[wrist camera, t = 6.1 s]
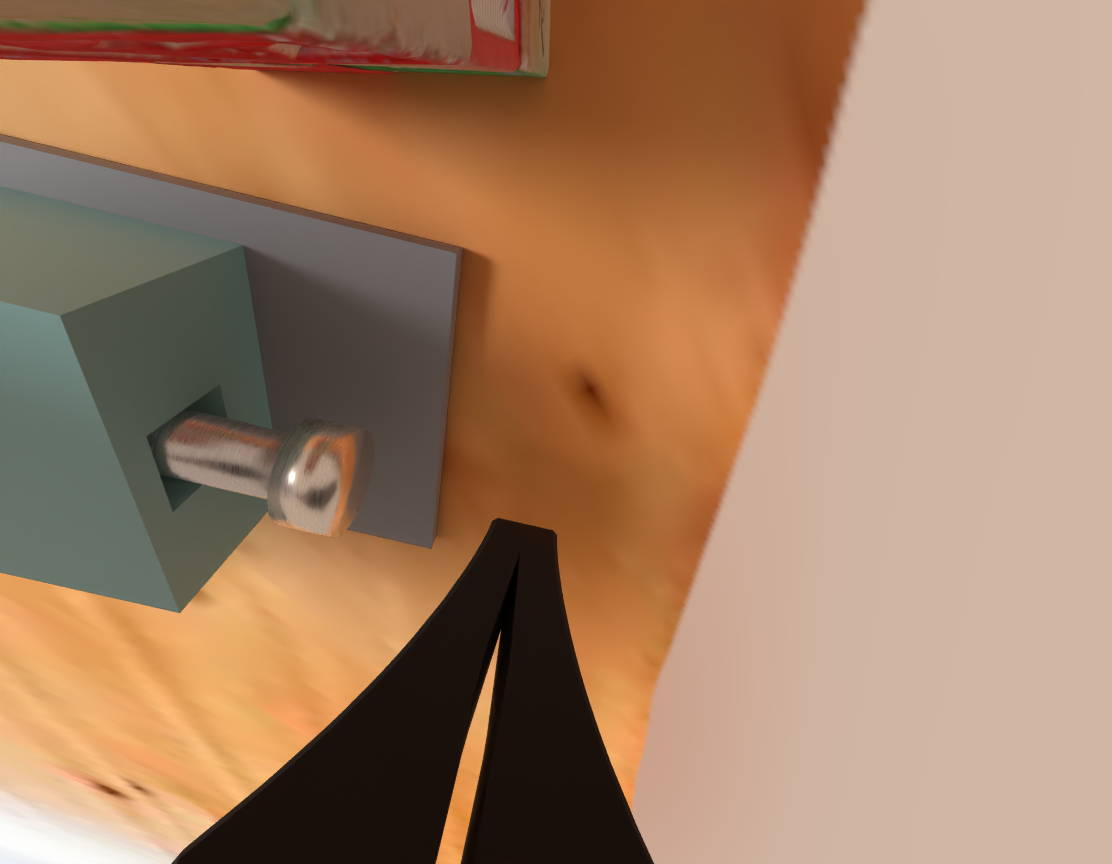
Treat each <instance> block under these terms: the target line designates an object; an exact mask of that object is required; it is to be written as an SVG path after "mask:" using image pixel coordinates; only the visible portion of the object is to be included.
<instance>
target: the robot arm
mask: <svg viewBox="0 0 1112 864" xmlns="http://www.w3.org/2000/svg"><path fill="white" fill-rule="evenodd" d="M500 631H501V634H500ZM499 634H500V641H499V649H498V656H497V664H496V671H495V679H494V686H493V694H492V701H491V709H490V716H489V724H488V731H487V738H486V744H485V750H484V756H483V762H482V766H481V771H480V776H479V780H478V785H477V790H476V795H475V799H474V804H473V809H472V813H471V818H470V823H469V827H468V832H467V837H466V841H465V846H464V851H463V855H462V860H461V864H654V863H653V860H652V858H651V856H650V854H649V852H648V850H647V847H646V845H645V843H644V841H643V838H642V836H641V834H640V832H639V830H638V828H637V825H636V823H635V820H634V818H633V815H632V813H631V811H630V808H629V806H628V803H627V801H626V798H625V796H624V794H623V791H622V789H621V786H620V784H619V782H618V779H617V777H616V774H615V772H614V769H613V767H612V765H611V762H610V759H609V757H608V754H607V751H606V748H605V746H604V743H603V740H602V737H601V735H600V732H599V729H598V726H597V723H596V720H595V717H594V714H593V711H592V708H591V705H590V702H589V699H588V696H587V693H586V689H585V686H584V683H583V679H582V676H581V672H580V669H579V665H578V661H577V657H576V654H575V650H574V646H573V642H572V638H571V634H570V629H569V624H568V619H567V615H566V610H565V605H564V600H563V594H562V588H561V581H560V574H559V565H558V554H557V535H556V533H555V532H554V531H553V530H549V529H544V528H540V527H536V526H531V525H527V524H522V523H518V522H514V521H509V520H505V519H500V518H497V519H495V520H493V521H492V523H491V525H490V528H489V530H488V532H487V534H486V536H485V538H484V540H483V541H482V543H481V545H480V547H479V548H478V550H477V552H476V553H475V555H474V556H473V558H472V560H471V561H470V563H469V564H468V566H467V567H466V569H465V570H464V572H463V573H462V575H461V576H460V577H459V579H458V580H457V582H456V583H455V584H454V586H453V587H452V589H451V590H450V591H449V593H448V594H447V596H446V597H445V598H444V600H443V601H442V602H441V603H440V605H439V606H438V607H437V608H436V610H435V611H434V612H433V613H432V615H431V616H430V617H429V618H428V620H427V621H426V622H425V623H424V624H423V626H422V627H421V628H420V629H419V631H418V632H417V633H416V634H415V635H414V637H413V638H412V639H411V640H410V641H409V642H408V644H407V645H406V646H405V647H404V648H403V649H402V650H401V651H400V653H399V654H398V655H397V656H396V657H395V658H394V659H393V660H392V661H391V662H390V664H389V665H388V666H387V667H386V668H385V669H384V670H383V671H382V672H381V673H380V674H379V675H378V676H377V677H376V679H375V680H374V681H373V682H372V683H371V684H370V685H369V686H368V687H367V688H366V689H365V690H364V691H363V692H362V693H361V694H360V695H359V696H358V697H357V698H356V699H355V700H354V701H353V702H352V703H351V704H350V705H349V706H348V707H347V708H346V709H345V710H344V711H343V712H342V713H341V714H340V715H339V716H338V717H336V718H335V719H334V720H333V721H332V722H331V723H330V724H329V725H328V726H327V727H326V728H325V729H324V730H323V731H322V732H321V733H319V734H318V735H317V736H316V737H315V738H314V739H313V740H312V741H311V742H309V743H308V744H307V745H306V746H305V747H304V748H303V749H302V750H301V751H299V752H298V753H297V754H296V755H295V756H294V757H293V758H292V759H291V760H289V761H288V762H287V763H286V764H285V765H284V766H283V767H282V768H281V769H279V770H278V771H277V772H276V773H275V774H274V775H273V776H272V777H270V778H269V779H268V780H267V781H266V782H265V783H263V784H262V785H261V786H260V787H259V788H258V789H256V790H255V791H254V792H253V793H252V794H250V795H249V796H248V797H247V798H245V799H244V800H243V801H242V802H241V803H239V804H238V805H237V806H236V807H234V808H233V809H232V810H231V811H230V812H228V813H227V814H226V815H225V816H224V817H222V818H221V819H220V820H219V821H217V822H216V823H215V824H214V825H213V826H211V827H210V828H209V829H208V830H206V831H205V832H204V833H203V834H202V835H200V836H199V837H198V838H197V839H196V840H194V841H193V842H192V843H191V844H189V845H188V846H187V847H186V848H185V849H184V850H183V851H182V852H181V853H180V854H179V855H178V856H177V858H176V859H175V860H174V861H173V862H172V864H436V860H437V856H438V851H439V847H440V843H441V839H442V835H443V830H444V826H445V822H446V818H447V814H448V810H449V805H450V801H451V797H452V793H453V789H454V784H455V780H456V776H457V772H458V768H459V764H460V759H461V755H462V752H463V748H464V745H465V741H466V738H467V734H468V731H469V727H470V724H471V721H472V718H473V715H474V712H475V709H476V706H477V703H478V699H479V696H480V693H481V690H482V687H483V684H484V681H485V678H486V674H487V671H488V668H489V665H490V662H491V659H492V656H493V653H494V649H495V646H496V643H497V640H498V637H499Z"/></svg>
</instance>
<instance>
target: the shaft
mask: <svg viewBox="0 0 1112 864" xmlns="http://www.w3.org/2000/svg"><path fill="white" fill-rule="evenodd" d="M146 437H147V440H148V443H149V446H150V448H151V451H152V454H153V457H154V460H155V463H156V466H157V469H158V471H159V474H160V475H164V476H169V477H173V478H177V479H182V480H186V481H190V482H194V483H199V484H203V485H207V486H212V487H216V488H220V489H225V490H229V491H233V492H238V493H242V494H246V495H251V496H255V497H259V498H263V499H267V505H268V511H269V515H270V517H271V519H272V520H273V522H274V523H276V524H277V525H279V526H283V527H288V528H292V529H296V530H301V531H305V532H309V533H314V534H318V535H322V536H327V537H331V538H335V537H338V536H340V535H341V534H343V533H344V532H345V531H346V530H347V529H348V527H349V526H350V525H351V523H352V522H353V520H354V519H355V517H356V515H357V513H358V511H359V509H360V507H361V505H362V503H363V500H364V498H365V495H366V492H367V489H368V486H369V483H370V479H371V475H372V469H373V463H374V441H373V437H372V435H371V433H370V432H369V431H368V430H366V429H362V428H358V427H353V426H349V425H345V424H341V423H336V422H332V421H328V420H324V419H319V418H315V417H311V418H307V419H305V420H303V421H302V422H300V423H299V424H298V425H297V426H296V427H295V428H294V429H293V430H292V431H291V432H290V433H286V432H282V431H278V430H274V429H269V428H265V427H261V426H257V425H252V424H248V423H244V422H240V421H235V420H231V419H227V418H223V417H218V416H214V415H210V414H206V413H201V412H197V411H193V410H189V409H184V410H183V411H181V412H180V413H178V414H177V415H176V416H174V417H173V418H171V419H170V420H169V421H167V422H166V423H164V424H163V425H161V426H160V427H159V428H157V429H156V430H154V431H153V432H152V433H150V434H149V435H147V436H146Z"/></svg>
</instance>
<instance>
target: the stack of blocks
mask: <svg viewBox="0 0 1112 864" xmlns="http://www.w3.org/2000/svg"><path fill="white" fill-rule="evenodd" d="M549 46H550V0H0V59H11V60H62V61H115V62H143V63H147V62H148V63H156V64H169V65H182V66H200V67H212V68H216V67H222V68H231V69H247V70H287V71H314V72H348V73H378V74H390V73H393V72H396V71H410V72H433V73H456V74H478V75H503V76H525V77H539V78H543V77H546V76H547V74H548V70H549Z"/></svg>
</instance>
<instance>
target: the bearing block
mask: <svg viewBox="0 0 1112 864" xmlns="http://www.w3.org/2000/svg"><path fill="white" fill-rule="evenodd" d="M462 250H463V248H461V247H457V246H453V245H449V244H445V243H441V242H437V241H433V240H428V239H424V238H420V237H416V236H412V235H408V234H404V233H400V232H396V231H392V230H388V229H384V228H380V227H376V226H372V225H367V224H363V223H359V222H355V221H351V220H347V219H343V218H339V217H335V216H331V215H327V214H323V213H319V212H315V211H311V210H306V209H302V208H298V207H294V206H290V205H286V204H282V203H278V202H274V201H270V200H266V199H262V198H258V197H254V196H250V195H245V194H241V193H237V192H233V191H229V190H225V189H221V188H217V187H213V186H209V185H205V184H201V183H197V182H193V181H189V180H184V179H180V178H176V177H172V176H168V175H164V174H160V173H156V172H152V171H148V170H144V169H140V168H136V167H132V166H128V165H123V164H119V163H115V162H111V161H107V160H103V159H99V158H95V157H91V156H87V155H83V154H79V153H75V152H71V151H67V150H62V149H58V148H54V147H50V146H46V145H42V144H38V143H34V142H30V141H26V140H22V139H18V138H14V137H10V136H6V135H1V134H0V573H5V574H9V575H13V576H18V577H22V578H27V579H31V580H36V581H40V582H44V583H49V584H53V585H58V586H62V587H67V588H71V589H75V590H80V591H84V592H89V593H93V594H98V595H102V596H106V597H111V598H115V599H120V600H124V601H129V602H133V603H138V604H142V605H146V606H151V607H155V608H160V609H164V610H169V611H173V612H177V613H180V612H181V611H182V610H183V609H184V608H185V607H186V605H187V604H188V603H189V602H190V601H191V600H192V598H193V597H194V596H195V595H196V594H197V593H198V592H199V590H200V589H201V588H202V587H203V586H204V585H205V583H206V582H207V581H208V580H209V579H210V578H211V576H212V575H213V574H214V573H215V572H216V571H217V570H218V568H219V567H220V566H221V565H222V564H223V563H224V561H225V560H226V559H227V558H228V557H229V556H230V554H231V553H232V552H233V551H234V550H235V549H236V548H237V546H238V545H239V544H240V543H241V542H242V541H243V539H244V538H245V537H246V536H247V535H248V534H249V532H250V531H251V530H252V529H253V528H254V527H255V526H256V524H257V523H258V522H259V521H260V520H261V519H262V517H263V516H264V515H265V514H266V513H267V512H268V505H267V499H263V498H259V497H255V496H251V495H246V494H242V493H238V492H233V491H229V490H225V489H220V488H216V487H212V486H207V485H203V484H199V483H194V482H190V481H186V480H182V479H177V478H173V477H169V476H164V475H160V474H159V471H158V469H157V466H156V463H155V460H154V457H153V454H152V451H151V448H150V446H149V443H148V440H147V437H146V436H147V435H149V434H150V433H152V432H153V431H154V430H156V429H157V428H159V427H160V426H161V425H163V424H164V423H166V422H167V421H169V420H170V419H171V418H173V417H174V416H176V415H177V414H178V413H180V412H181V411H183V410H184V409H189V410H193V411H197V412H201V413H206V414H210V415H214V416H218V417H223V418H227V419H231V420H235V421H240V422H244V423H248V424H252V425H257V426H261V427H265V428H269V429H274V430H278V431H282V432H286V433H290V432H291V431H292V430H293V429H294V428H295V427H296V426H297V425H298V424H299V423H300V422H302V421H303V420H305V419H307V418H311V417H315V418H319V419H324V420H328V421H332V422H336V423H341V424H345V425H349V426H353V427H358V428H362V429H366V430H368V431H369V432H370V433H371V435H372V437H373V441H374V463H373V469H372V475H371V479H370V483H369V486H368V489H367V492H366V495H365V498H364V500H363V503H362V505H361V507H360V509H359V511H358V513H357V515H356V517H355V519H354V520H353V522H352V523H351V525H350V526H349V527H348V530H352V531H356V532H361V533H365V534H369V535H374V536H378V537H382V538H387V539H391V540H395V541H399V542H404V543H408V544H412V545H417V546H421V547H425V548H430V549H431V548H432V546H433V543H434V541H435V539H436V530H437V519H438V508H439V498H440V487H441V476H442V465H443V455H444V444H445V433H446V422H447V412H448V401H449V390H450V379H451V369H452V358H453V347H454V336H455V326H456V315H457V304H458V293H459V283H460V272H461V261H462Z"/></svg>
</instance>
